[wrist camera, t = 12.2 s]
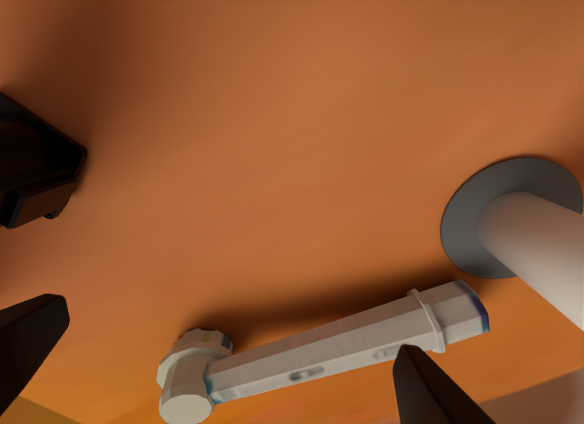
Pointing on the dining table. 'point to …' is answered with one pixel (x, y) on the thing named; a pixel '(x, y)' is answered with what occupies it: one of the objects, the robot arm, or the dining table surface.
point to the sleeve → (538, 247)
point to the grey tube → (312, 350)
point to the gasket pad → (486, 187)
